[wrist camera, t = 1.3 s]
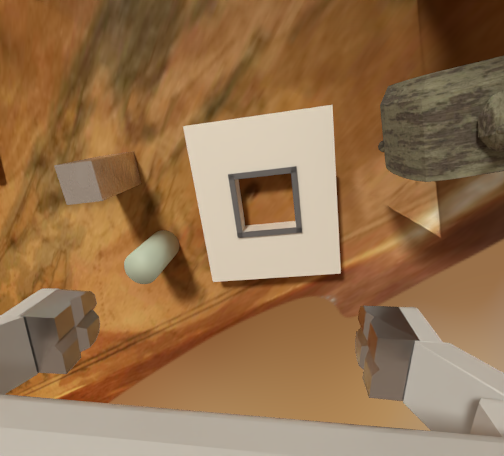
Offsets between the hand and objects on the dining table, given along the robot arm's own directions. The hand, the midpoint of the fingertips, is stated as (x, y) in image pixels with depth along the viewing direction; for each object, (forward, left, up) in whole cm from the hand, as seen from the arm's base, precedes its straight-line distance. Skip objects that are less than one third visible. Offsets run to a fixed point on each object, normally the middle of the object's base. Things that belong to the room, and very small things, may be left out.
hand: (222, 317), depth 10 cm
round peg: (+12, -20, -39) cm, 45 cm away
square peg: (-1, -24, -39) cm, 46 cm away
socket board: (+6, -2, -39) cm, 40 cm away
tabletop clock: (-3, +20, -39) cm, 44 cm away
